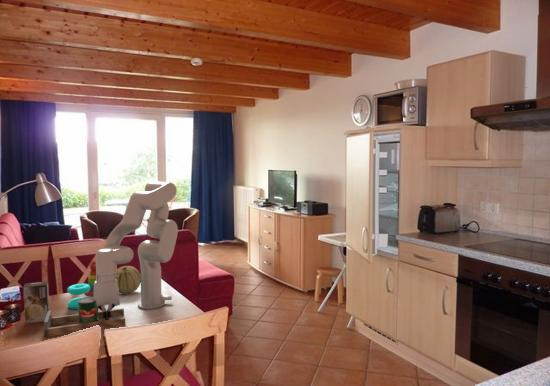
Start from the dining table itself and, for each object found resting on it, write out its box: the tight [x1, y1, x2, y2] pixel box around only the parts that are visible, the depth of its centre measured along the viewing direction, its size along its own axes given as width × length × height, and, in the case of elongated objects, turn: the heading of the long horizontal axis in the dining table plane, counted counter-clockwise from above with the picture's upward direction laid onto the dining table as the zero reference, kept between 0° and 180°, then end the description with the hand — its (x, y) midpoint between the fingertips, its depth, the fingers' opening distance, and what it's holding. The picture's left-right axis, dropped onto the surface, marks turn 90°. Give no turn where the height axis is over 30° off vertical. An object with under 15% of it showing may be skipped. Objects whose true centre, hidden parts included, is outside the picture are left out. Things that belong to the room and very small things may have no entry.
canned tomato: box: [77, 296, 100, 324], centre depth 172 cm, size 8×8×11 cm
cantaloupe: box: [115, 265, 141, 295], centre depth 215 cm, size 15×15×15 cm
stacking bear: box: [84, 260, 96, 297], centre depth 215 cm, size 11×10×18 cm
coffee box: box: [22, 280, 51, 324], centre depth 178 cm, size 9×6×16 cm
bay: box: [43, 308, 126, 338], centre depth 172 cm, size 30×13×6 cm, turn 113°
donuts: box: [67, 283, 90, 310], centre depth 195 cm, size 10×10×10 cm
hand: (106, 319), depth 175 cm, fingers closed
